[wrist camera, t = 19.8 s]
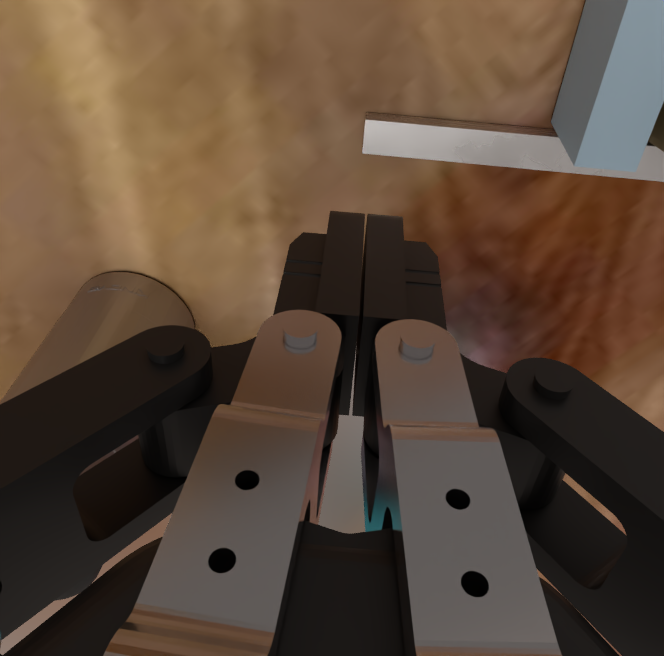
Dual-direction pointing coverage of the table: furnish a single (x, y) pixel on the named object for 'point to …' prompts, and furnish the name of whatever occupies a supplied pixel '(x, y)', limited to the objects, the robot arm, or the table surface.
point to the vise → (487, 145)
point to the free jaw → (612, 84)
